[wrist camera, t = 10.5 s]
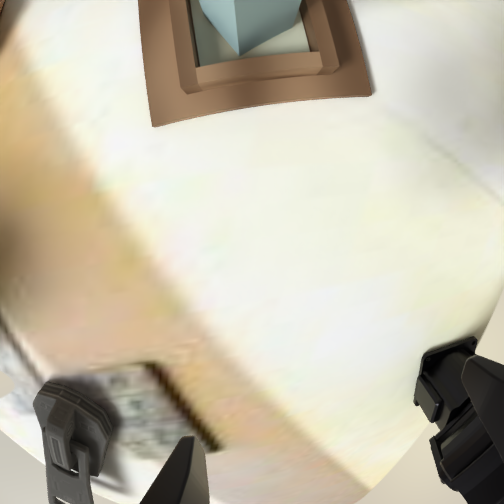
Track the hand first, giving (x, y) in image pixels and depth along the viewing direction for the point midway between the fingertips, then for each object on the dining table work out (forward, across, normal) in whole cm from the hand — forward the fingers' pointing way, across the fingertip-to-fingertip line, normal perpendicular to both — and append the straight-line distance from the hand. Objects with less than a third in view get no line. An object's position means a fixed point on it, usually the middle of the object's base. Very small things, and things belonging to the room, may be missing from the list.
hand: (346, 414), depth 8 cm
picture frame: (+14, -1, -16) cm, 21 cm away
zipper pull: (+14, +27, +21) cm, 37 cm away
